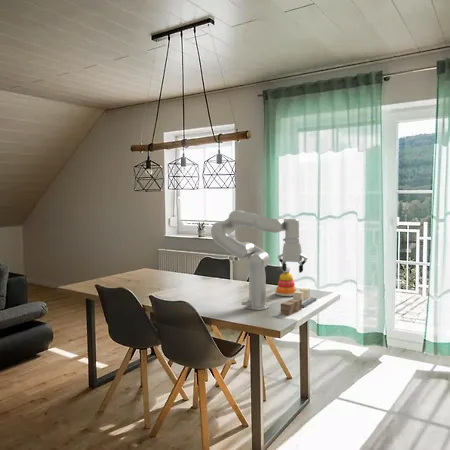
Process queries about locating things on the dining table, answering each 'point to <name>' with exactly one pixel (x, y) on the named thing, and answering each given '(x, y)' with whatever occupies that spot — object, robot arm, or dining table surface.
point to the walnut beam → (291, 306)
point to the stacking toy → (285, 284)
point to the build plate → (304, 296)
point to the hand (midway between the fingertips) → (292, 271)
